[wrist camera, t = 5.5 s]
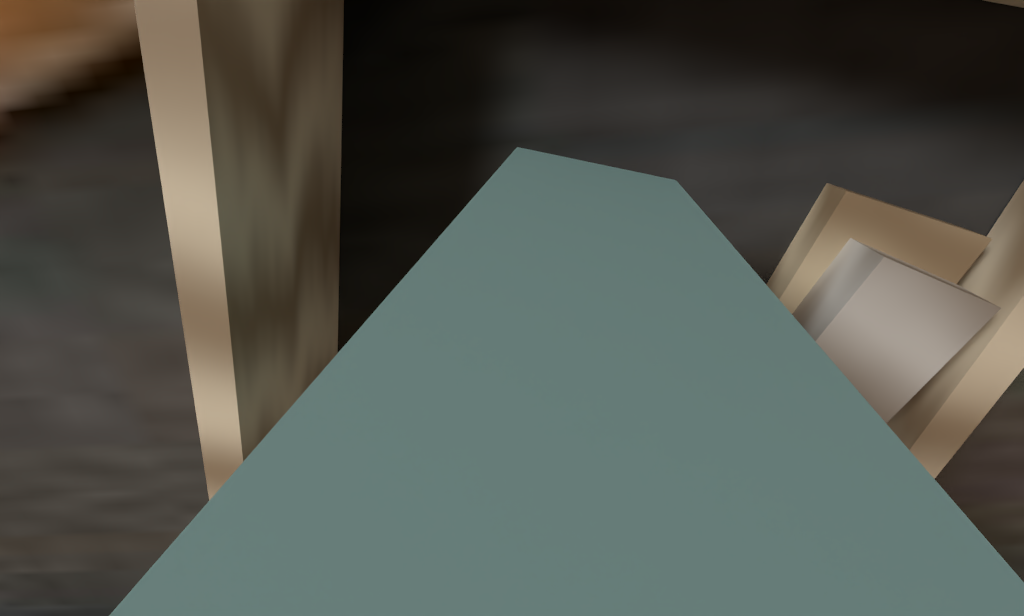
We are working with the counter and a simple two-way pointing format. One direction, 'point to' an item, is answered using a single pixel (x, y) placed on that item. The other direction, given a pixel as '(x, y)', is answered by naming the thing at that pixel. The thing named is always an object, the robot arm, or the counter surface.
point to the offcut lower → (870, 241)
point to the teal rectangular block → (580, 442)
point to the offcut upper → (888, 323)
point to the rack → (316, 226)
